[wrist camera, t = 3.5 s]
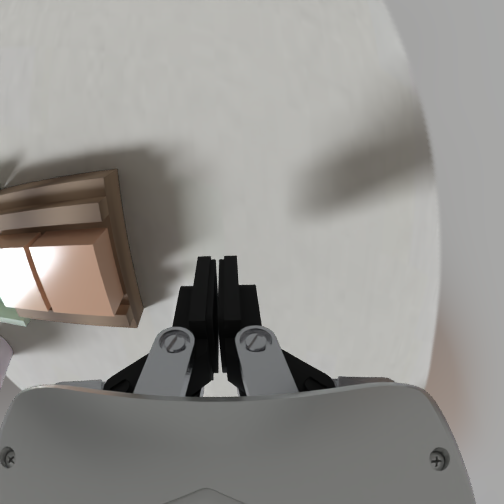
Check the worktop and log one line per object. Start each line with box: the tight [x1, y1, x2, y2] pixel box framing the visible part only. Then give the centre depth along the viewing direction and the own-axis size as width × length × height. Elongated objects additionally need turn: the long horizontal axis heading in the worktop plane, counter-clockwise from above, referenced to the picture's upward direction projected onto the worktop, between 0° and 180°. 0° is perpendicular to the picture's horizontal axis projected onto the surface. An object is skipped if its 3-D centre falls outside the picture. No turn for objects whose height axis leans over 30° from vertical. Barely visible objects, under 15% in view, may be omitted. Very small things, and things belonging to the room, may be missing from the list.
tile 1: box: [29, 228, 124, 317], centre depth 14 cm, size 4×4×2 cm
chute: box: [0, 169, 143, 328], centre depth 15 cm, size 10×10×3 cm
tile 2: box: [0, 232, 51, 312], centre depth 13 cm, size 4×4×2 cm
